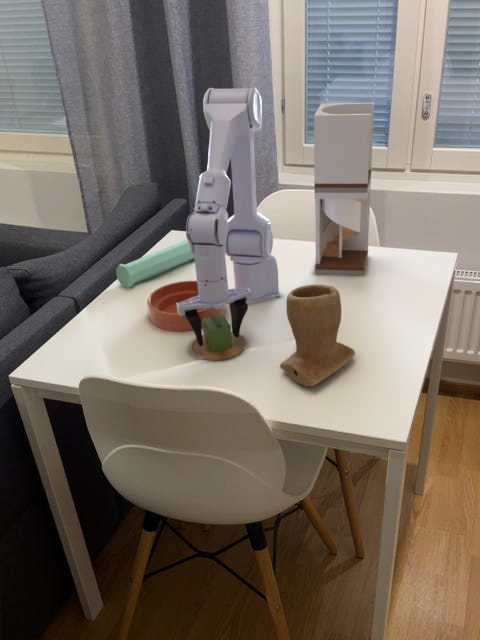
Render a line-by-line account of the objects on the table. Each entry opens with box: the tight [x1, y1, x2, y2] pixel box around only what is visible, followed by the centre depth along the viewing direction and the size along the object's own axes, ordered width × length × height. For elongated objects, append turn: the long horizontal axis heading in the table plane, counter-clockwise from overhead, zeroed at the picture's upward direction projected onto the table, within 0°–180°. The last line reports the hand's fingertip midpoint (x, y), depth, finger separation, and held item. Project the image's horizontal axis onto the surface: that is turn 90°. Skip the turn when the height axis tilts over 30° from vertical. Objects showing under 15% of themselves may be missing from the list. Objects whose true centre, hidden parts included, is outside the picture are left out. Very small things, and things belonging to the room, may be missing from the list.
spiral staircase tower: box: [313, 102, 375, 277], centre depth 156 cm, size 11×11×35 cm
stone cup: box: [279, 284, 356, 387], centre depth 126 cm, size 15×12×15 cm
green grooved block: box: [203, 314, 232, 352], centre depth 137 cm, size 4×5×5 cm
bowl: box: [146, 280, 225, 332], centre depth 150 cm, size 16×16×4 cm
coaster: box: [190, 331, 247, 362], centre depth 139 cm, size 11×11×1 cm
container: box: [115, 239, 195, 288], centre depth 170 cm, size 6×6×25 cm
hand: (218, 339), depth 138 cm, fingers open, 7 cm apart
